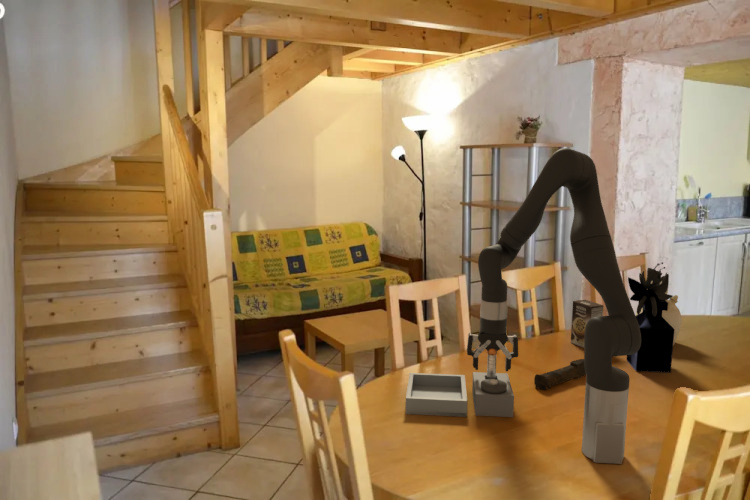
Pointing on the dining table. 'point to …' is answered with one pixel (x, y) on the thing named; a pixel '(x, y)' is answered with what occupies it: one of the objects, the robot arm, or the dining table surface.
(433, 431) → the dining table surface
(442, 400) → the tray
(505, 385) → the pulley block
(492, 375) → the pin
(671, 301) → the jug
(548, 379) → the hand tool
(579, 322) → the coffee box
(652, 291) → the vase
